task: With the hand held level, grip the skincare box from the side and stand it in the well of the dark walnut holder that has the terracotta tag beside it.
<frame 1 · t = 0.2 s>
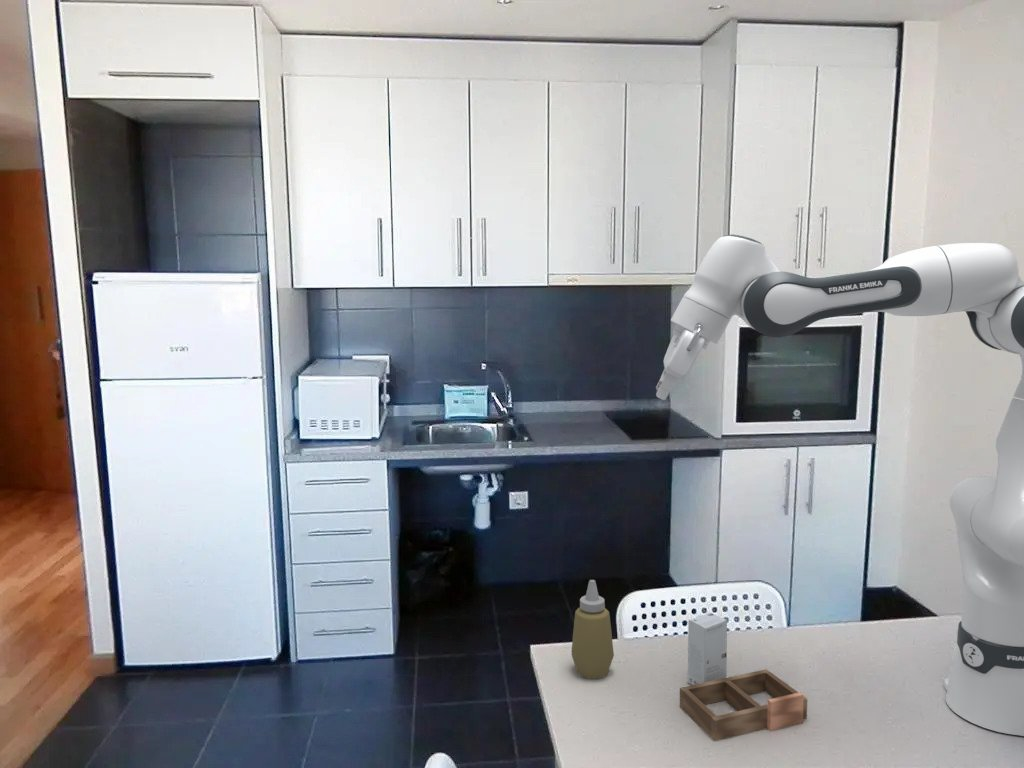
hand: (659, 394, 128), 54 cm above the table, tool tilted 25°, fingers open, 8 cm apart
squeeze bottle: (592, 672, 140), on the table
tag holder: (742, 712, 125), on the table
skincare box: (706, 683, 135), on the table
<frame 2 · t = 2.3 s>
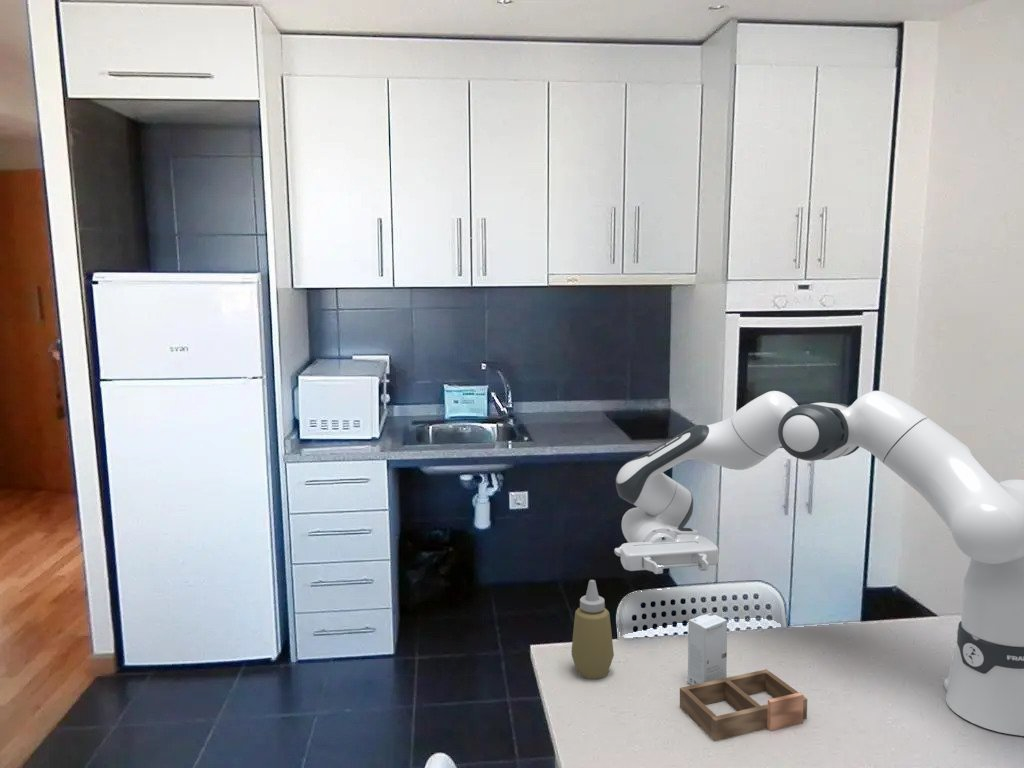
hand: (682, 568, 145), 17 cm above the table, tool horizontal, fingers open, 8 cm apart
nothing on the table moved.
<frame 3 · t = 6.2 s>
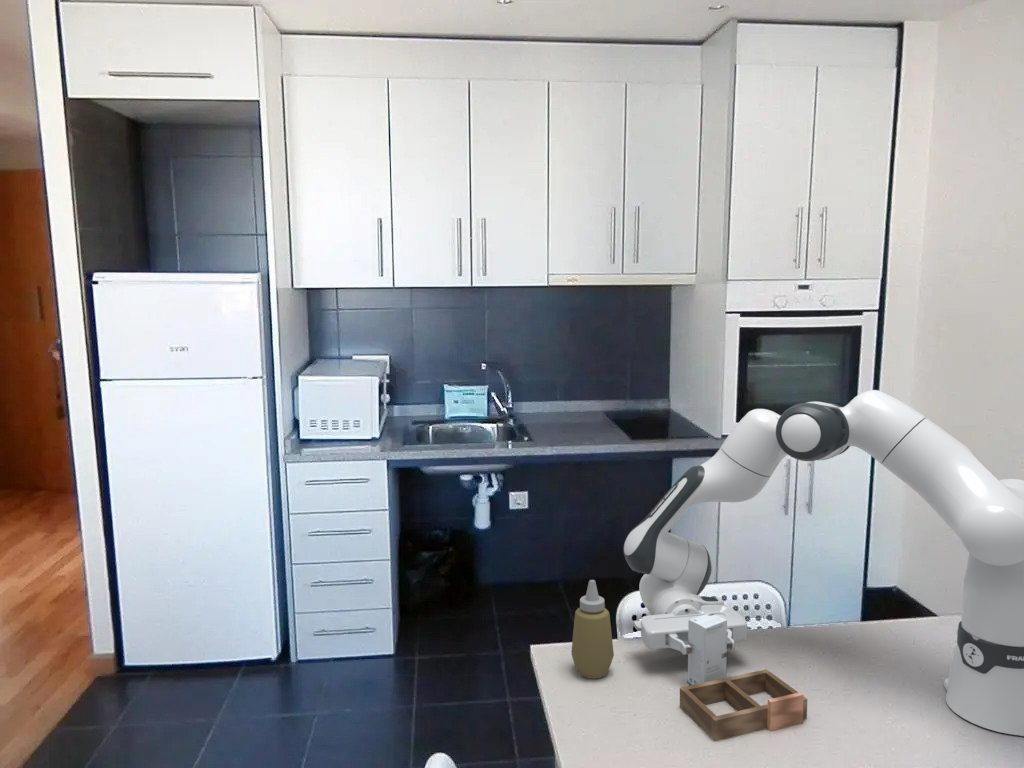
hand: (709, 648, 133), 7 cm above the table, tool horizontal, fingers closed on skincare box, 7 cm apart
skincare box: (706, 683, 135), on the table, touching gripper
everything else where it was.
when the fingers open (8 cm above the table, at t = 11.6 s): skincare box drops 1 cm, resting in tag holder.
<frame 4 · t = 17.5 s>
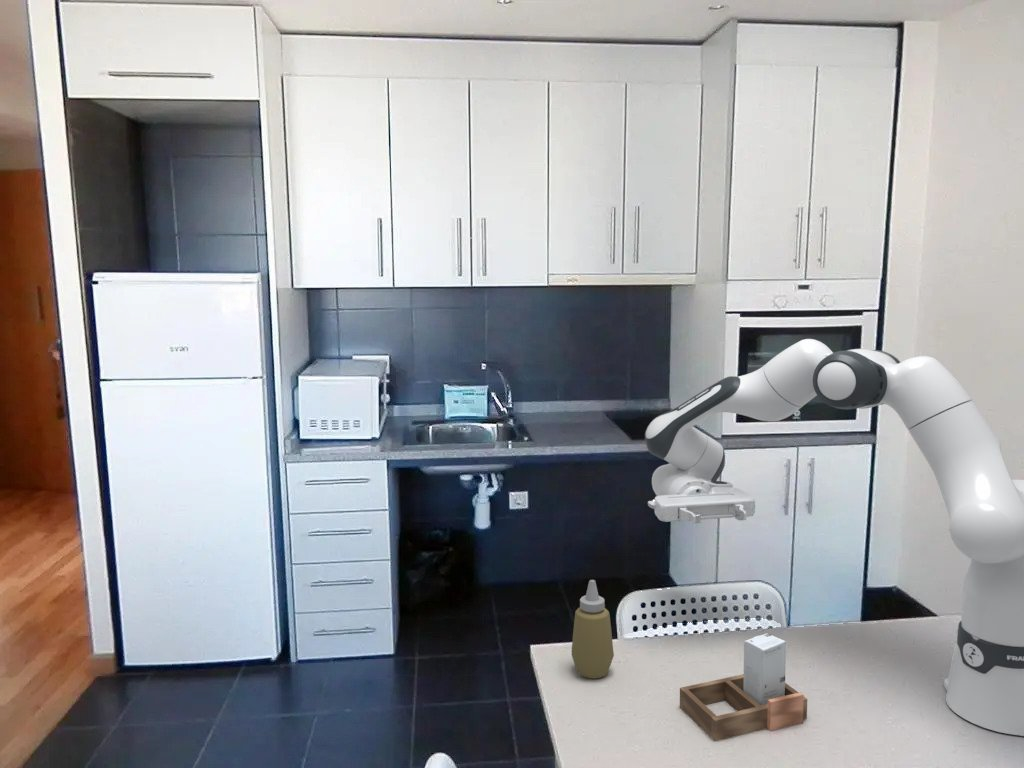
hand: (720, 518, 142), 28 cm above the table, tool horizontal, fingers open, 8 cm apart
skincare box: (763, 708, 127), resting in tag holder
everything else where it was.
at the end: skincare box 0.2 cm from the target spot on the tag holder, point 0.0 cm above the tag holder's base; skincare box tilted 0°; the gripper is holding nothing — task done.
